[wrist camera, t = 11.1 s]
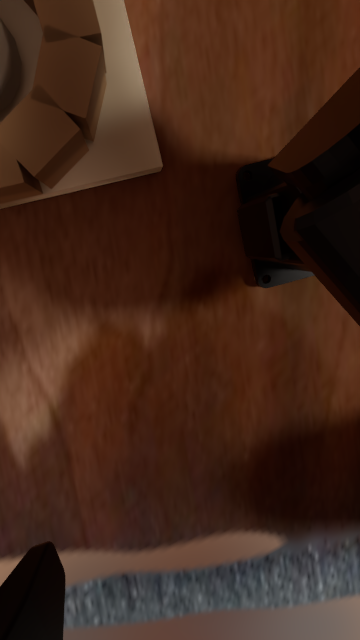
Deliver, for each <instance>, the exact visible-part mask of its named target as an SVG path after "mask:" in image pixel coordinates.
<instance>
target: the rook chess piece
mask: <svg viewBox="0 0 360 640" xmlns="http://www.w3.org/2000/svg"><path fill="white" fill-rule="evenodd" d="M21 65H22V62H21V59H20V55H19V52H18V48H17V45H16V41H15V38H14V37H13V35H12V34H11V33H10V31H9V30H8V28H7V27H6V25H5V24H4V23H3V21H2V20H1V18H0V111H2V110H3V109H5V108H6V107H7V106H9V105H10V104H11V102H12V100H13V98H14V96H15V94H16V92H17V90H18V88H19V86H20V78H21Z"/></svg>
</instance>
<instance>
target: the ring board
mask: <svg viewBox="0 0 360 640" xmlns="http://www.w3.org/2000/svg"><path fill="white" fill-rule="evenodd" d="M0 18H1V20H2V21H3V23H4V24H5V25H6V27H7V28H8V30H9V31H10V33H11V34H12V35H13V37H14V38H15V41H16V45H17V48H18V52H19V55H20V59H21V62H22V65H21V78H20V86H19V88H18V90H17V92H16V94H15V96H14V98H13V100H12V102H11V104H10V105H9V106H7V107H6V108H5V109H3V110H2V111H0V209H2V208H7V207H11V206H15V205H19V204H24V203H28V202H32V201H36V200H41V199H45V198H49V197H53V196H58V195H62V194H66V193H70V192H75V191H79V190H83V189H87V188H92V187H96V186H100V185H104V184H109V183H113V182H117V181H121V180H126V179H130V178H134V177H138V176H143V175H147V174H151V173H155V172H160V171H161V169H162V167H163V164H162V160H161V155H160V151H159V147H158V143H157V139H156V134H155V130H154V126H153V122H152V118H151V113H150V109H149V105H148V101H147V97H146V92H145V88H144V84H143V80H142V76H141V71H140V67H139V63H138V59H137V55H136V50H135V46H134V42H133V38H132V33H131V29H130V25H129V21H128V17H127V12H126V8H125V4H124V0H0Z"/></svg>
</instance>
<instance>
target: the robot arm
mask: <svg viewBox="0 0 360 640" xmlns="http://www.w3.org/2000/svg"><path fill="white" fill-rule="evenodd" d="M244 172H247V173H249V175H250V179H249V180H248V181H246V180H245V179H244V178H243V173H244ZM236 181H237V186H238V192H239V197H240V202H241V205H240V207H239V208H238V210H237V213H238V218H239V223H240V229H241V234H242V239H243V244H244V249H245V254H246V256H247V257H249V258H250V259H251V260H252V265H253V270H254V276H255V281H256V283H257V285H258V286H260V287H263V288H270V287H273V286H277V285H281V284H284V283H288V282H292V281H295V280H299V279H303V278H306V277H310V276H314V275H315V276H316V277H317V278H318V280H319V281H320V282H321V283H322V284H323V285H324V286H325V287H326V289H327V290H328V291H329V292H330V293H331V294H332V295H333V296H334V298H335V299H336V300H337V301H338V302H339V303H340V304H341V306H342V307H343V308H344V309H345V310H346V311H347V312H348V313H349V315H350V316H351V317H352V318H353V319H354V320H355V321H356V322H357V324H358V325H359V326H360V68H359V69H358V70H357V71H356V72H355V73H354V74H353V75H352V76H351V77H350V78H349V79H348V80H347V81H346V82H345V83H344V84H343V85H342V87H341V88H340V89H339V90H338V91H337V92H336V93H335V94H334V95H333V96H332V97H331V98H330V99H329V100H328V101H327V102H326V104H325V105H324V106H323V107H322V108H321V109H320V110H319V111H318V112H317V113H316V114H315V115H314V116H313V117H312V118H311V119H310V121H309V122H308V123H307V124H306V125H305V126H304V127H303V128H302V129H301V130H300V131H299V132H298V133H297V134H296V135H295V136H294V138H293V139H292V140H291V141H290V142H289V143H288V144H287V145H286V146H285V147H284V148H283V149H282V150H281V151H280V152H279V153H278V154H277V156H276V157H275V158H274V159H270V160H266V161H261V162H257V163H253V164H249V165H245V166H243V167H242V168H240V169H239V170H238V171H237V174H236ZM264 275H267V276H268V281H267V282H265V283H263V281H262V278H263V276H264ZM64 603H65V572H64V568H63V566H62V564H61V561H60V559H59V556H58V554H57V551H56V549H55V546H54V544H53V543H52V542H50V541H47V542H44V543H41V544H38V545H35V546H33V547H32V548H31V549H30V550H29V551H28V552H27V553H26V555H25V556H24V557H23V558H22V560H21V561H20V562H19V563H18V565H17V566H16V568H15V569H14V570H13V571H12V572H11V574H10V575H9V576H8V578H7V579H6V580H5V581H4V583H3V584H2V585H1V586H0V640H63V626H64Z"/></svg>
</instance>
